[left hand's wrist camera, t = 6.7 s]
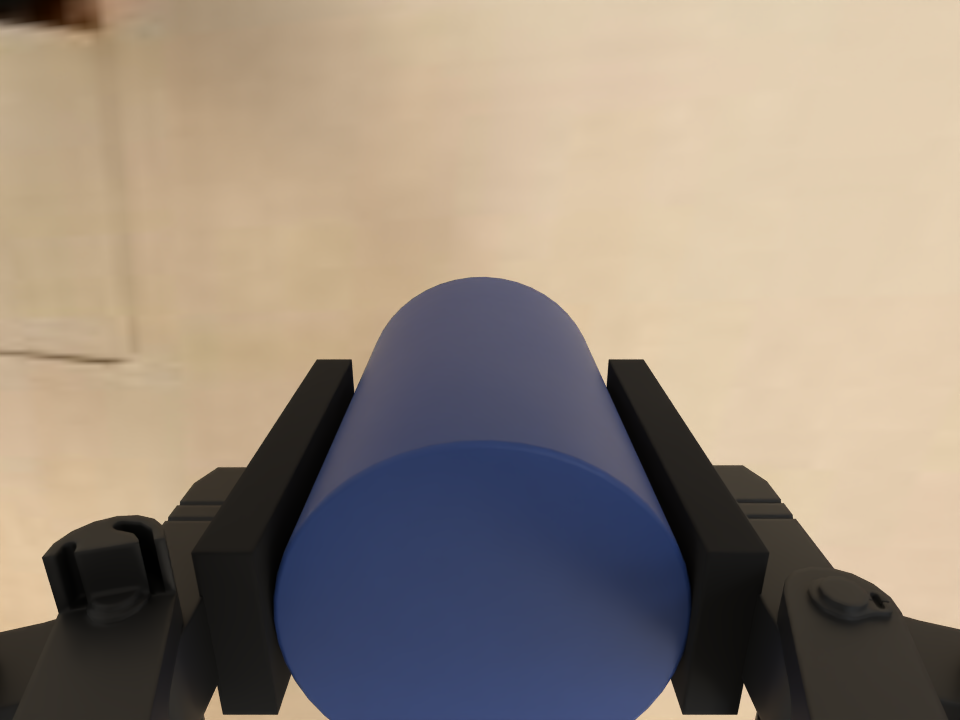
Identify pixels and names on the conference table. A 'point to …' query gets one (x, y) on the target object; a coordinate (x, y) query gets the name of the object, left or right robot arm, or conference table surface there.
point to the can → (482, 530)
